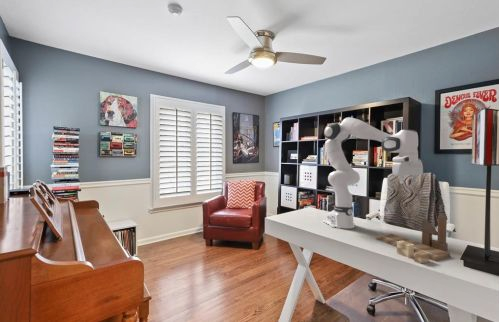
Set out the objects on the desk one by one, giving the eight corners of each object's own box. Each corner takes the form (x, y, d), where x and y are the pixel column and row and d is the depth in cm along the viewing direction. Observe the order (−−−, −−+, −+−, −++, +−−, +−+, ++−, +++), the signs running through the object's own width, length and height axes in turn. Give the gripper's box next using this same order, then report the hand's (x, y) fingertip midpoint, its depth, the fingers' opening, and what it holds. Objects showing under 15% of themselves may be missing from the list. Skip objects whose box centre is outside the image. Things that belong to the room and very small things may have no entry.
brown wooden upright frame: (424, 243, 138) (425, 211, 137) (447, 250, 128) (448, 216, 128) (421, 244, 136) (422, 212, 135) (444, 251, 126) (445, 216, 126)
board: (376, 239, 145) (376, 235, 145) (391, 236, 149) (391, 233, 149) (434, 260, 115) (434, 256, 115) (450, 257, 120) (450, 253, 120)
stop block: (414, 261, 115) (414, 252, 115) (422, 258, 117) (422, 250, 117) (420, 263, 112) (420, 255, 112) (429, 261, 114) (429, 253, 114)
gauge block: (396, 253, 124) (396, 241, 124) (402, 252, 126) (402, 240, 126) (408, 257, 119) (408, 245, 119) (413, 256, 120) (414, 244, 120)
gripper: (415, 158, 142) (414, 181, 143) (390, 158, 135) (389, 183, 135) (426, 158, 137) (426, 183, 137) (401, 158, 129) (400, 184, 129)
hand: (407, 183), depth 136 cm, fingers open, 8 cm apart
